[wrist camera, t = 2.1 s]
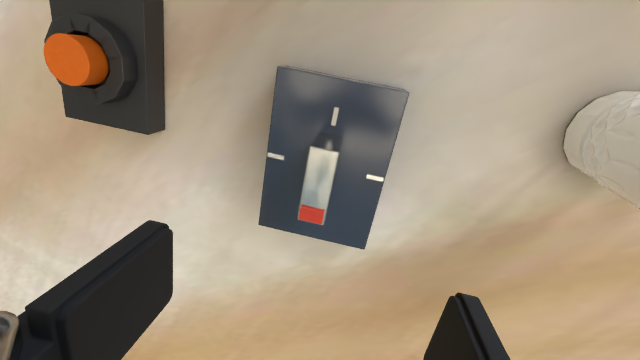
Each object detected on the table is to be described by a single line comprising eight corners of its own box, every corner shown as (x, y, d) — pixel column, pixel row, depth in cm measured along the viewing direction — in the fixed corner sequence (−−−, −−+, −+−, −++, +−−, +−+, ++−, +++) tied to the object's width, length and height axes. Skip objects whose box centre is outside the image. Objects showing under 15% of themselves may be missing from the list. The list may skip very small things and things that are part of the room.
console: (286, 65, 25) (276, 65, 22) (404, 89, 25) (409, 92, 22) (267, 210, 31) (257, 225, 28) (364, 232, 30) (364, 250, 27)
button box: (73, -18, 25) (23, -32, 22) (163, 0, 25) (127, -12, 21) (87, 112, 29) (48, 119, 26) (164, 129, 29) (135, 139, 25)
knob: (319, 131, 24) (308, 146, 19) (343, 136, 24) (339, 153, 19) (307, 194, 26) (296, 221, 21) (330, 199, 26) (323, 227, 21)
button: (63, 31, 23) (39, 28, 21) (107, 40, 23) (86, 38, 21) (69, 79, 24) (47, 80, 23) (111, 88, 24) (91, 90, 23)
